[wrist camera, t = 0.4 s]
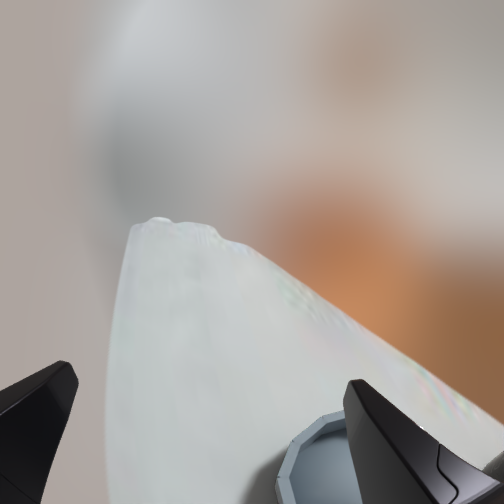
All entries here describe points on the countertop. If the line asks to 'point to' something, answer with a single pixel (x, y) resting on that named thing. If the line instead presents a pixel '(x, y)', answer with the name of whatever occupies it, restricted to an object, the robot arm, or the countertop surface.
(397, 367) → the countertop surface
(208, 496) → the countertop surface
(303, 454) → the bowl
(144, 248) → the countertop surface
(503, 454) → the supplement bottle
